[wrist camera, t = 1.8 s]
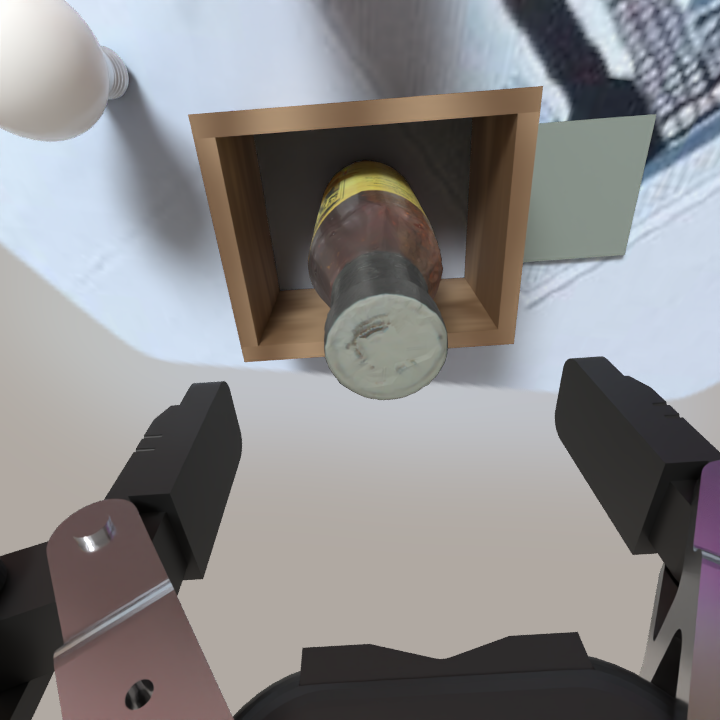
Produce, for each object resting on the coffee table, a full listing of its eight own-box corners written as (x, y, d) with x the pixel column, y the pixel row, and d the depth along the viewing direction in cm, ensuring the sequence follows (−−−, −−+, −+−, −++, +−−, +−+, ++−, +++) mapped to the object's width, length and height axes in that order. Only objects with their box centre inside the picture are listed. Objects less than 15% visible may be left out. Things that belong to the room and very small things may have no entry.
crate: (489, 91, 28) (542, 86, 20) (477, 289, 34) (513, 343, 26) (233, 111, 28) (188, 114, 20) (269, 303, 35) (244, 362, 27)
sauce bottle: (320, 157, 30) (276, 230, 12) (415, 158, 30) (503, 233, 12) (323, 254, 33) (290, 422, 15) (408, 256, 33) (470, 423, 16)
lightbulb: (175, 43, 26) (74, 7, 17) (152, 150, 29) (54, 172, 20) (61, -16, 25) (-119, -91, 15) (48, 103, 28) (-111, 102, 18)
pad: (652, 114, 29) (656, 114, 28) (621, 253, 33) (624, 254, 33) (510, 125, 29) (512, 125, 28) (498, 262, 33) (500, 263, 33)
